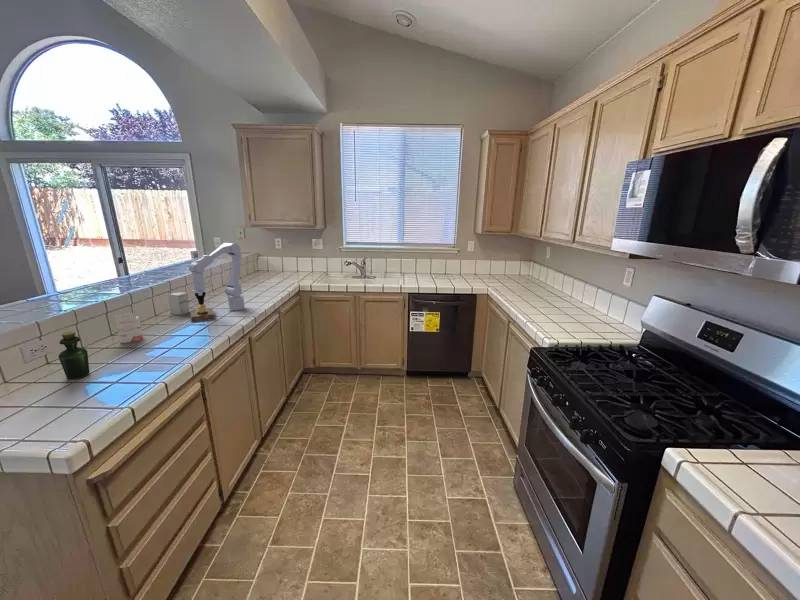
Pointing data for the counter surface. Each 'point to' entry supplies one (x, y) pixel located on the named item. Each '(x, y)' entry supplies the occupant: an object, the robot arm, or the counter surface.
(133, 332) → the ink cartridge box
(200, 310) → the brass cylinder
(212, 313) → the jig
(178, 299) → the supplement box
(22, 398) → the counter surface
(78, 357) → the potion bottle
